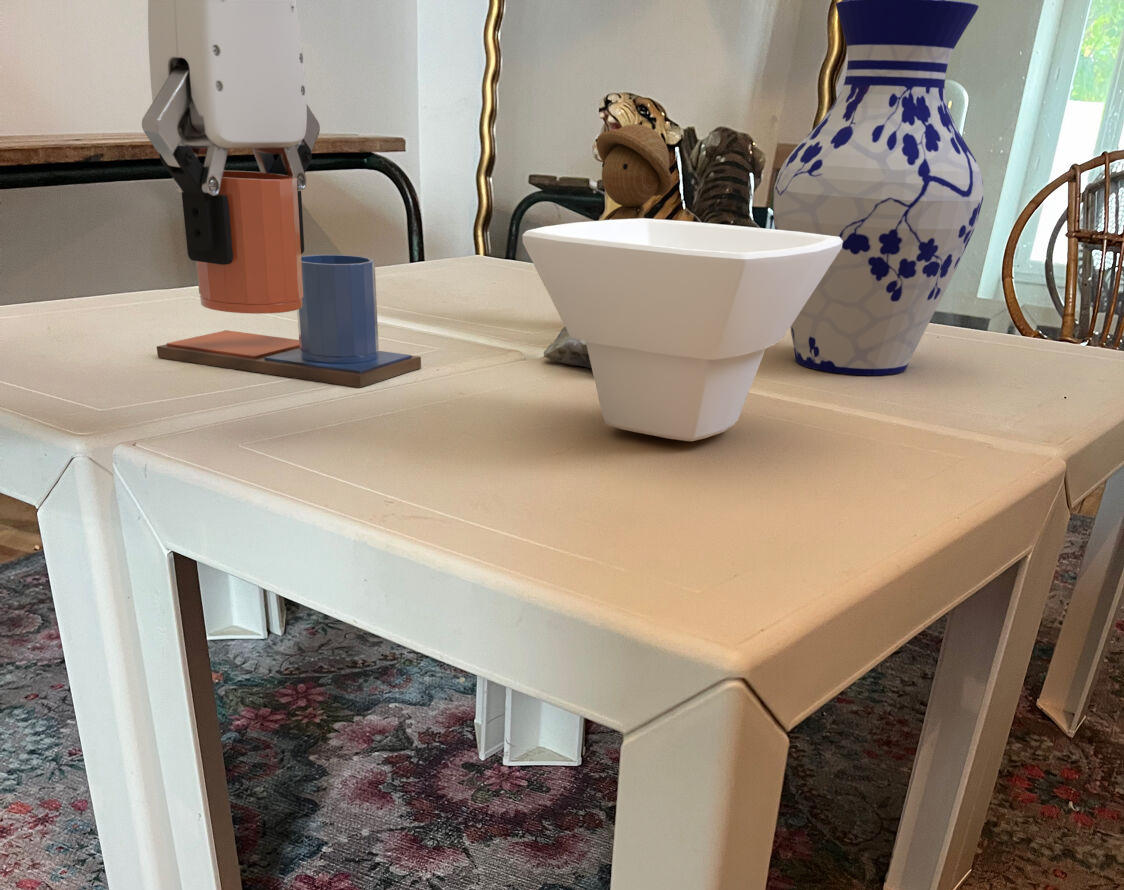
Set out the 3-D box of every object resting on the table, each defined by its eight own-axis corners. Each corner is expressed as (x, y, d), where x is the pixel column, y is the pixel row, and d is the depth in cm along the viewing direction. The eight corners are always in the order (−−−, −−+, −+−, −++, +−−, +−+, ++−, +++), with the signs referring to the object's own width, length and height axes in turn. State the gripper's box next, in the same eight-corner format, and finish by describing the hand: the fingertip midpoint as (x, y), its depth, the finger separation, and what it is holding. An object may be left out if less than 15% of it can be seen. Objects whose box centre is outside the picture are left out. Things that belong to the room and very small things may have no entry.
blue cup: (285, 357, 99) (277, 259, 95) (330, 346, 104) (324, 252, 100) (350, 367, 97) (344, 266, 93) (392, 354, 102) (389, 259, 98)
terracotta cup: (179, 304, 76) (164, 171, 72) (244, 293, 81) (234, 169, 77) (261, 317, 73) (251, 180, 69) (322, 305, 79) (316, 177, 75)
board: (157, 357, 103) (155, 343, 102) (229, 341, 111) (227, 328, 110) (360, 387, 95) (359, 373, 95) (421, 367, 103) (421, 354, 102)
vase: (973, 364, 114) (1046, 13, 99) (910, 394, 101) (985, -8, 86) (800, 339, 123) (844, 14, 108) (721, 364, 110) (759, -5, 95)
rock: (531, 347, 107) (598, 264, 107) (570, 388, 111) (635, 309, 110) (587, 370, 99) (661, 280, 98) (627, 414, 103) (698, 328, 102)
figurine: (572, 326, 125) (581, 121, 115) (620, 321, 129) (632, 123, 119) (628, 340, 119) (641, 124, 109) (675, 334, 123) (693, 126, 113)
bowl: (623, 393, 97) (634, 215, 90) (836, 431, 88) (866, 237, 81) (495, 436, 83) (496, 230, 76) (732, 486, 74) (758, 258, 67)
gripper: (263, -50, 75) (282, 241, 84) (62, -92, 61) (110, 262, 70) (358, -48, 72) (367, 252, 81) (171, -91, 58) (206, 276, 67)
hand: (248, 254), depth 75 cm, fingers closed on terracotta cup, 6 cm apart
